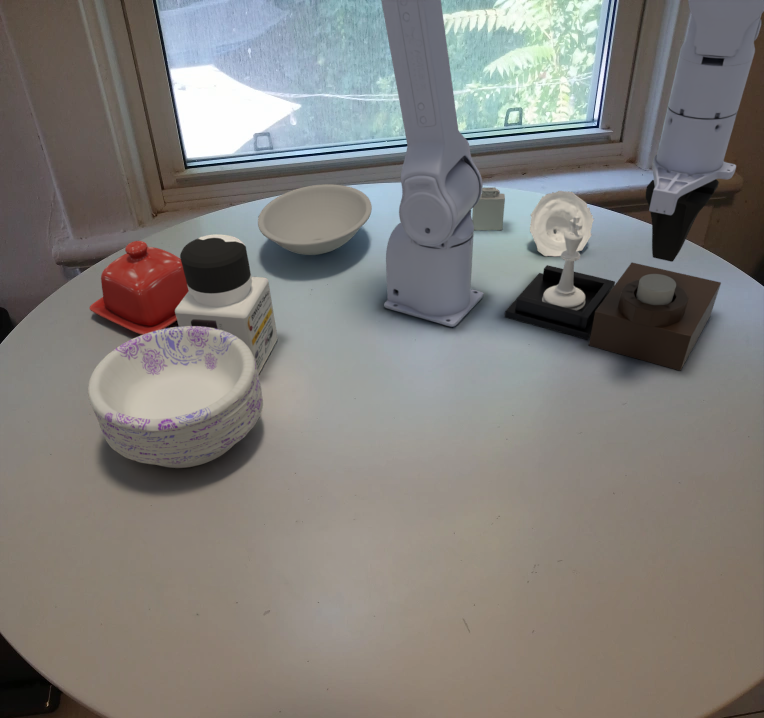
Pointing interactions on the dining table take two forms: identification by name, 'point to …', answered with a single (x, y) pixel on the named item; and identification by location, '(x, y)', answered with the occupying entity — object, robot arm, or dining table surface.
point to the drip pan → (557, 317)
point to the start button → (656, 289)
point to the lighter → (489, 210)
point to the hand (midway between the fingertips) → (664, 256)
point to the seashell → (559, 222)
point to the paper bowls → (176, 395)
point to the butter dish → (142, 289)
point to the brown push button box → (654, 318)
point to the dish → (315, 218)
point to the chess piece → (568, 273)
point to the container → (227, 294)
